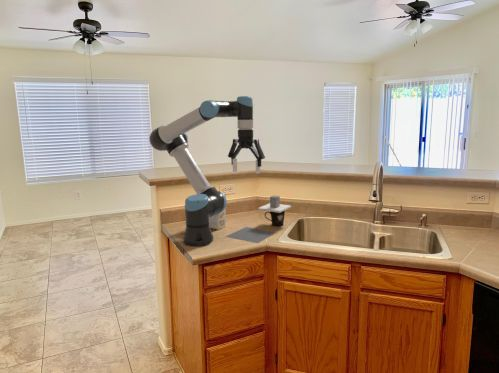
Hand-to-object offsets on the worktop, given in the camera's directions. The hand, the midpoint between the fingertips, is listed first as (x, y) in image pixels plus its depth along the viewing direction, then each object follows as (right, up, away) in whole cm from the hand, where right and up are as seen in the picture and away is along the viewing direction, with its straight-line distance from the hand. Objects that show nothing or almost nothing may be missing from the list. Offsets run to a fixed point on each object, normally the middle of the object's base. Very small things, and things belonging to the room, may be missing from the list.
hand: (246, 172), depth 181 cm
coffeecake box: (-20, -30, +29) cm, 46 cm away
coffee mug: (+16, -29, +30) cm, 45 cm away
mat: (+3, -33, +13) cm, 35 cm away
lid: (+16, -19, +28) cm, 38 cm away
